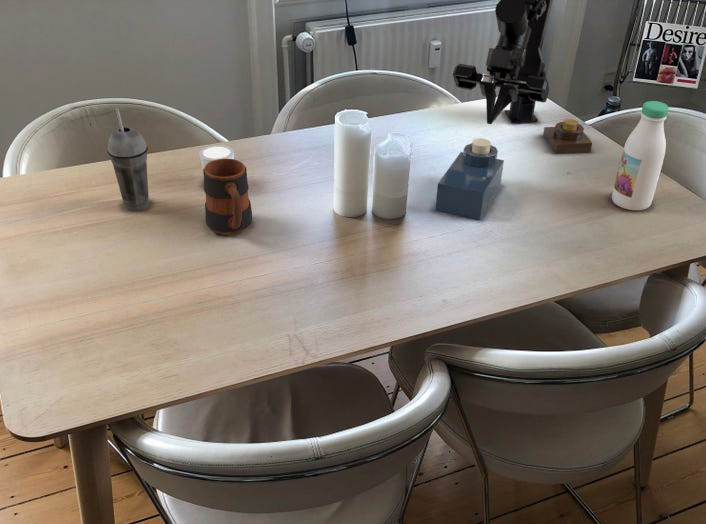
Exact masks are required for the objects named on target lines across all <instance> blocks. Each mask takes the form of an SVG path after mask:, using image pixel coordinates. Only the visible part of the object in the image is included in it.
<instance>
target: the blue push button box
mask: <svg viewBox="0 0 706 524" xmlns="http://www.w3.org/2000/svg"><path fill="white" fill-rule="evenodd" d="M498 153H499V151H498V148H497V147H495V146H494V145H492V144H491V147H490V153H489V154H481V155H480V154H475V153H473V152H472V142H471V143H469V144H466V145H465V146H464V147H463V151H460V152H459V154H458V155H457V157H456V158H455V159H454V160H453V162H452V163H451V164H450V166H449V168H447V170H446V172H444V174H443V176H442V177H441V179H440V180H439V181H438V182H437V189H436V200H435V209H434V210H435V211H436V212H441V213H446V214H450V215H454V216H459V217H464V218H468V219H472V220H473V219H474V220H476V221H477V220H478V221H481V220H482V218H483V216H484V215H485V213H486V211H487V210H488V207H489V206H490V204H491V203H492V201H493V199H494V197H495V196H496V194H497V192H498V191H499V190H500V188H501V182H502V177H503V170H504V163H505V159H499V158H498Z"/></svg>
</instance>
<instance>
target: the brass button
mask: <svg viewBox="0 0 706 524" xmlns="http://www.w3.org/2000/svg"><path fill="white" fill-rule="evenodd" d="M562 122H563V125H562V129H564V130H568V131H575V130H577V125H578V124H579V121H578V120H577V119H574V118H564V119H563V120H562Z"/></svg>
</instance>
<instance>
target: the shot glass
mask: <svg viewBox="0 0 706 524" xmlns="http://www.w3.org/2000/svg"><path fill="white" fill-rule="evenodd" d="M198 154H199V159H200V165H201V169H202V170H203V169H204V167H205V166H206V164H208V163H209V162H211V161H213V160H217V159H235V150H234V148H232V147H231V146H227V145H223V144H215V145H209V146H205V147H204V148H201V149H200V151H199V152H198Z"/></svg>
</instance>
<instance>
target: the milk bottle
mask: <svg viewBox="0 0 706 524" xmlns="http://www.w3.org/2000/svg"><path fill="white" fill-rule="evenodd" d="M669 111H670V110H669V105H667V104H666V103H664V102H662V101H658V100H657V101H656V100H648V101H646V102H644V103H643V105H642V107H641V112H640V116H641V117H640V120H639V122H638V123H637V125H636V126H635V128H634V129H633V130H632V131H631V133H630V134H629V135H628V137H627V139H626V141H625V144H624V147H623V151H622V154H621V157H620V162H619V165H618V169H617V174H616V178H615V181H614V186H613V190H612V194H611V199H612V202H613V203H614V204H615V205H616V206H618V207H620V208H621V209H624V210H629V211H644V210H646V209H648V208H650V206H651V205H652V203H653V199H654V197H655V194H656V189H657V186H658V182H659V178H660V175H661V171H662V168H663V164H664V159H665V155H666V149H667V140H666V134H665V127H664V126H665V125H664V124H665V120H667V116H668V114H669Z"/></svg>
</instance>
